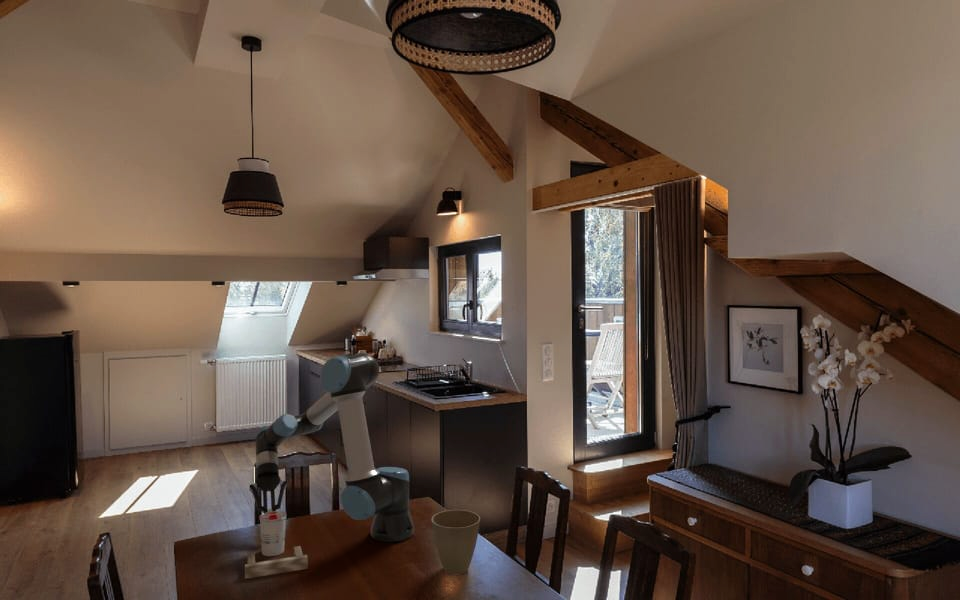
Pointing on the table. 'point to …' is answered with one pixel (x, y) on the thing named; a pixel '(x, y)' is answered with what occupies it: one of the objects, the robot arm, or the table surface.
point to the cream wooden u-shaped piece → (276, 564)
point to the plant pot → (455, 538)
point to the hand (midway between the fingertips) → (270, 528)
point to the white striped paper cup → (273, 532)
